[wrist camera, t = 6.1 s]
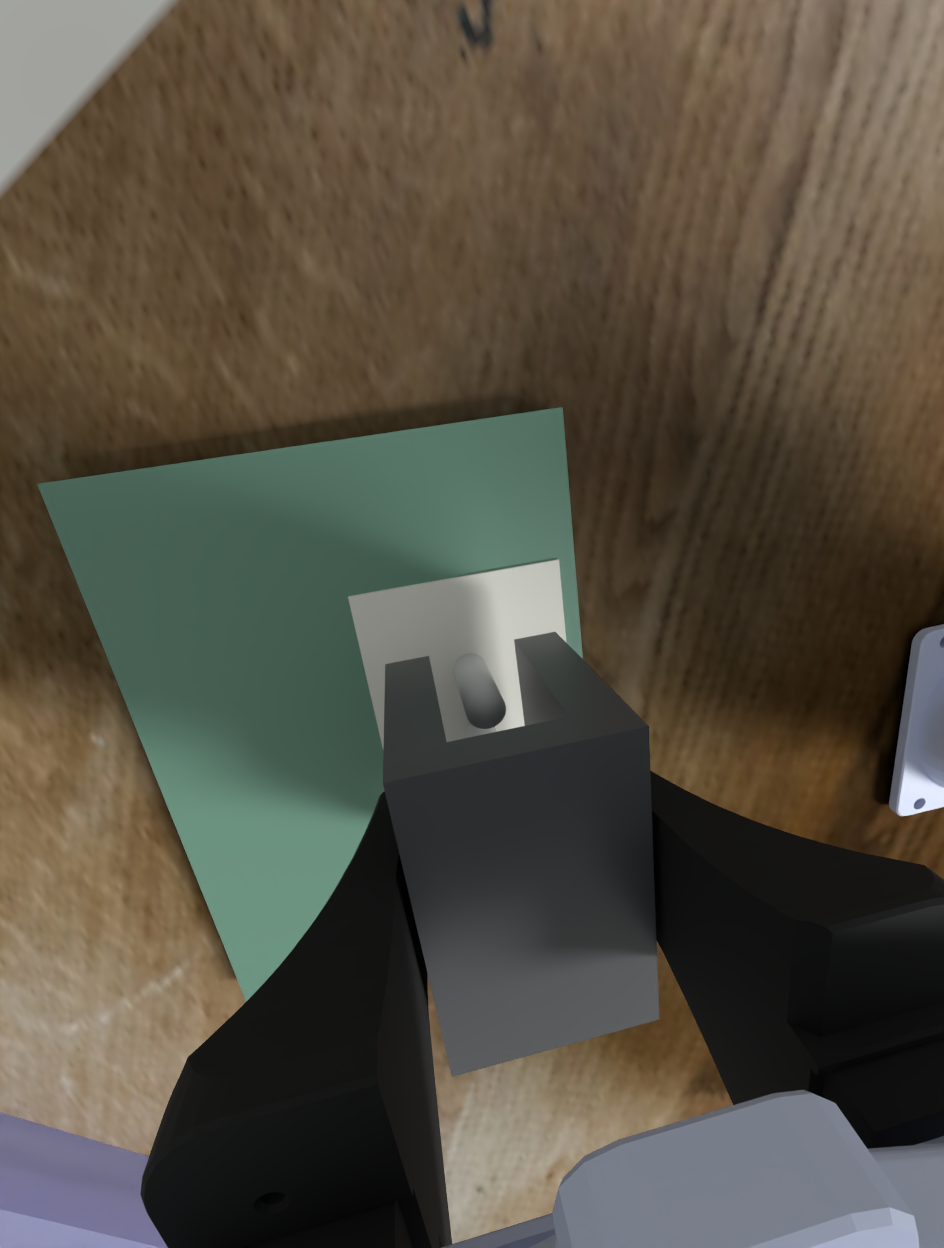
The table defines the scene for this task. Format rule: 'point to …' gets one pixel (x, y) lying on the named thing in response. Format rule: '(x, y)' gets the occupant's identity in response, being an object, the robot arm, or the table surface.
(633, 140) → the table surface
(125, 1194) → the computer part
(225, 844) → the header board
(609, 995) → the block
